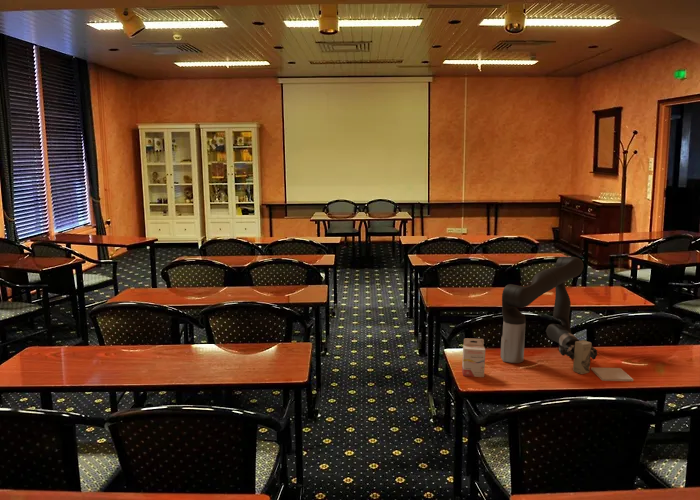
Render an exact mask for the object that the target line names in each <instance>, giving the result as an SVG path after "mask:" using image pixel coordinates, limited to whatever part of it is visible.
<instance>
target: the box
mask: <svg viewBox="0 0 700 500" xmlns="http://www.w3.org/2000/svg"><path fill="white" fill-rule="evenodd" d="M591 346H593V345H592V342H591V341H587V340H584V339H583V340H582V339H581V340H580V341H576V342H575V351H574V359H573V367H572V372H574V373H577V374H579V375H585V374H588V373H590V371H591V368H590V367H591V359H592V358H591Z"/></svg>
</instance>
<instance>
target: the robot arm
mask: <svg viewBox="0 0 700 500" xmlns="http://www.w3.org/2000/svg"><path fill="white" fill-rule="evenodd" d="M584 266H585V265H584V262H583V260H582V259H581V258H579V257H578V256H577V257H576V256H560V257H558V258H557V260H556V263H555V266H554V267H549V268H546V269H545V268H544V269H543V270H541V271H539V272H537V273H536V274H534V276H533V277H532V279H531V283H530V285H527V286H523V285H517V284H512V283H508V284H507V285H505V286H504V288H503V290H502V294H501V295H502V296H501V310H502V311H501V314H502V318H503V319H502V321H503V324H502V335H501V336H500V337H501V338H500V339H501V341H500V358H501V360H502V362H504V363H505V362H506V363H510V364H511V363H512V364H519V363H522V362H524V359H525V341H526V340H525V339H526V338H525V337H526V335H525V334H526V315H525V314H524V313H522V312H521V311H520V310H519V309H523V308H526V307H528V306H529V305H531V304H532V303H533V302H534V301H536V300H537V299H538V298H539V297H542V295H545V294H546V293H548V292H550V291H551V290H553V289H554V288H555V297H554V305H553V311H552V317H553V318H554V319H555V320H558V321H559V322H561V324H557V323H550V324H548V325H547V327H546V336H547V337H548V338H549V339H550V340H551V341H553V342H555V343H557V344H559V346H558V347H559V348H558V352H559V353H560V355H561V356H562V357H564V356H566V357H569V358H570V359H571V360H574V351H575V342H576V341H581V340H580V339H579V338H577V336H575V335H574V334H573V333H572V332H571V324H570V313H571V312H570V311H571V304H572V303H571V298H570V296H569V293H568V291H567V288H566V284H565V282H567V281H568V280H571V279H574V278H576V277H578V276H579V275H581V274H582V272H583V270H584ZM518 308H519V309H518ZM597 355H598V349H596V348H595V347H594V346H593V345H591V358H590V359H592V360H596V359H597V357H598V356H597Z"/></svg>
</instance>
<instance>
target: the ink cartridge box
mask: <svg viewBox="0 0 700 500" xmlns="http://www.w3.org/2000/svg"><path fill="white" fill-rule="evenodd" d="M484 342H485V340H484V338H471V337H470V338H468V337H467V338H463V345H462V364H461V373H462V376H463V377H475V378H476V377H478V378H484V377H485V365H486V347H485V346H484V344H485V343H484Z"/></svg>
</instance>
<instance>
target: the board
mask: <svg viewBox="0 0 700 500" xmlns="http://www.w3.org/2000/svg"><path fill="white" fill-rule="evenodd" d="M590 371H592V372H593V373H594V374H595V375H596V376H597V377H598V378H599V379H600V380H601V381H602V382H603V381H605V382H634V378H632V377H631V376H630V375H629V374H628V373H627V372H626V371H625V370H623V369H622V368H621V367H591V368H590Z"/></svg>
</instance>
